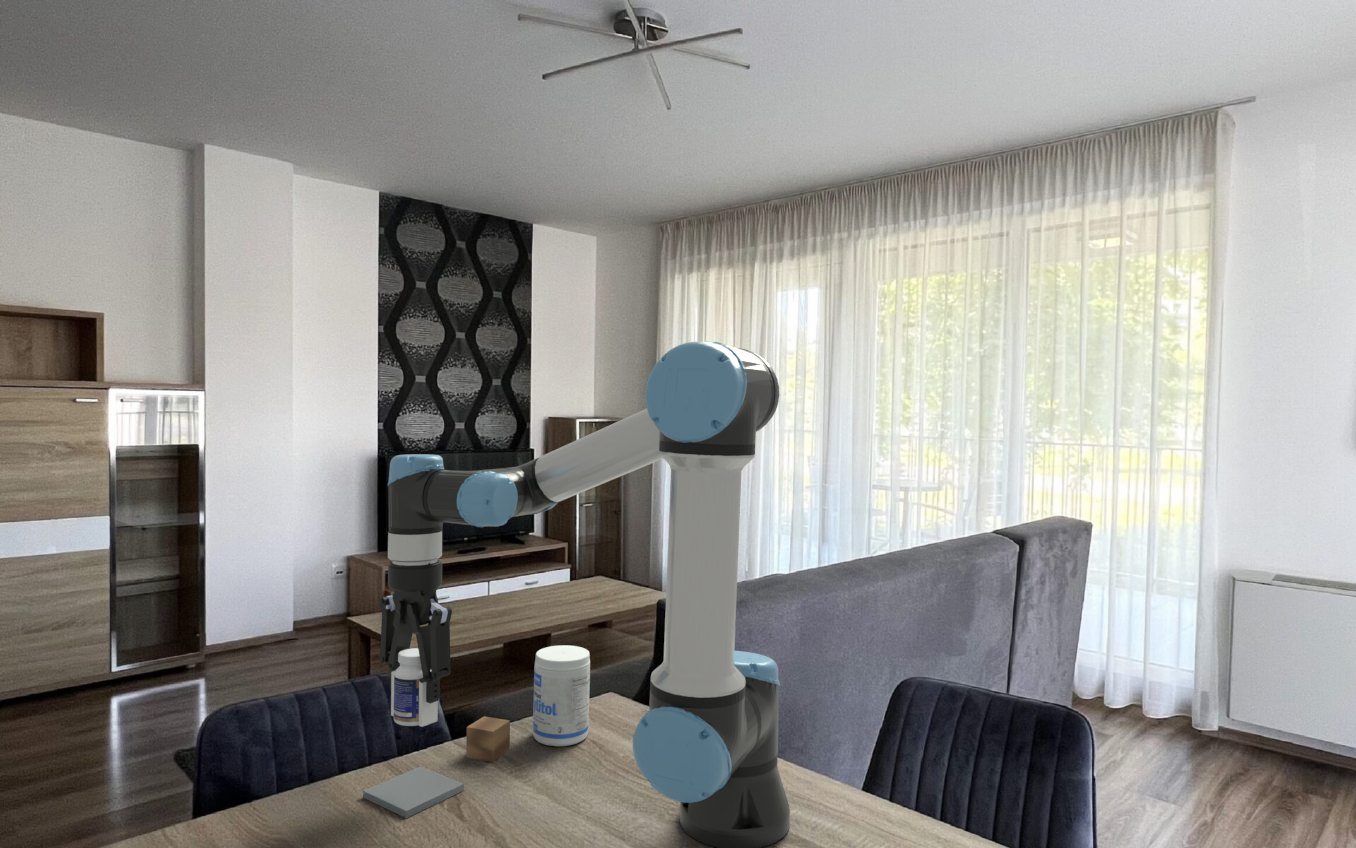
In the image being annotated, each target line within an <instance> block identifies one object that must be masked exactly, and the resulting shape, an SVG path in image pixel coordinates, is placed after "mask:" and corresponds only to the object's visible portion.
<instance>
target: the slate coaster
mask: <svg viewBox="0 0 1356 848" xmlns="http://www.w3.org/2000/svg"><path fill="white" fill-rule="evenodd" d="M464 785H465V784H464V783H463V782H460V781H458V780H455V779H453V778H451V777H448V776H445V775H443V774H441V773H438V772H436V771H434V770H432V769H429V768H427V767H424V766H421V765H420V766H417V767H416V768H413V769H411V770H409V771H407V772H404V773H402V774H399V775H397V776H395V777H392V778H390V779H388V780H386V781H383V782H381V783H378V784H376V785H373V786H371V787H369V788H367V789H364V790H362V798H363V799H365V800H368V801H369V802H372V803H374V804H376V805H378V806H380V807H381V808H384V809H386V810H388V811H390V812H392V813H394V814H397V815H398V816H401V817H403V818H405V819H408V818H409V817H411V816H413V815H416V814H418V813H420V812H422V811H424V810H426V809H428V808H430V807H432V806H434V805H437V804H440V803H441V802H442V801H445V800H447V799H449V798H451V797H453V796H455V795H457V794H459V793H462V792H464V790H465V786H464Z"/></svg>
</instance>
